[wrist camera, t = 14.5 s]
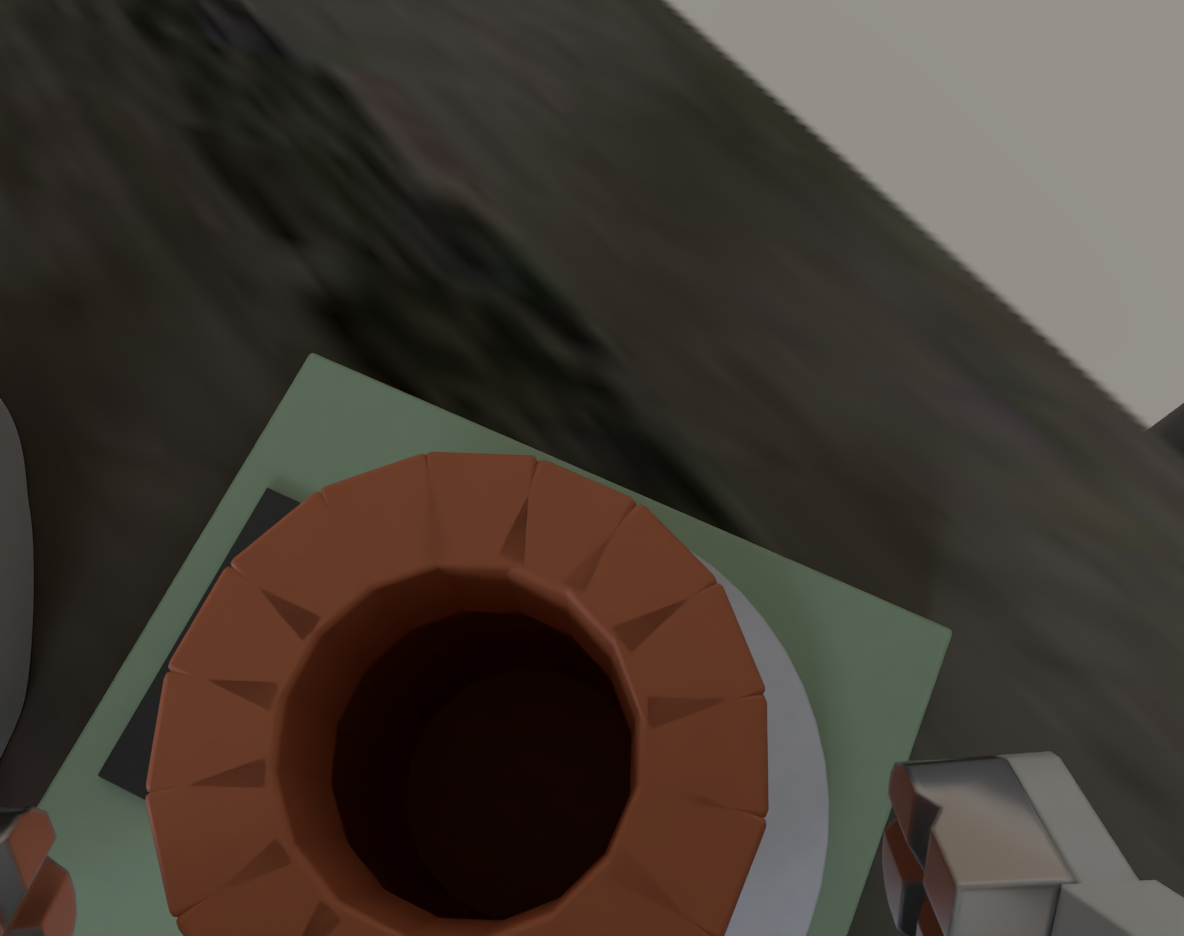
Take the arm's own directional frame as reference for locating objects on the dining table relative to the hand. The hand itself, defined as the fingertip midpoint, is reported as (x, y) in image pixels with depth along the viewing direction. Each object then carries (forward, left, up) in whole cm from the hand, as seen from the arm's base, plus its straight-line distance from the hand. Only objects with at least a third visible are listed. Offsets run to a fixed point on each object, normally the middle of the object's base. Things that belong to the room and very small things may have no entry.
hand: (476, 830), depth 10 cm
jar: (0, -1, -8) cm, 8 cm away
